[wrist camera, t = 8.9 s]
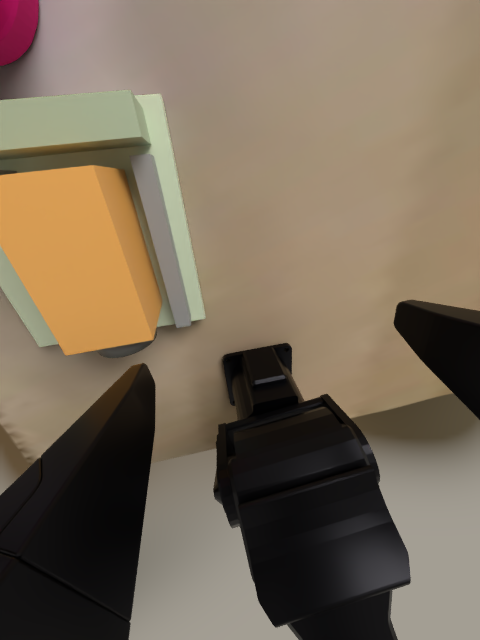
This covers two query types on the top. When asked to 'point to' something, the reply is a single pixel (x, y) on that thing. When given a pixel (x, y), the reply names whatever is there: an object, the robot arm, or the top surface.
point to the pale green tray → (115, 152)
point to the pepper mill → (16, 28)
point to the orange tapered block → (82, 257)
